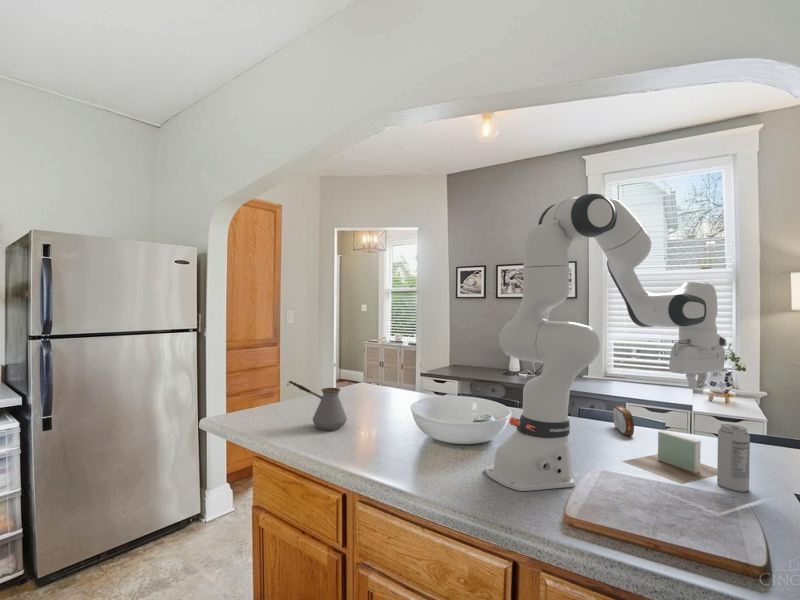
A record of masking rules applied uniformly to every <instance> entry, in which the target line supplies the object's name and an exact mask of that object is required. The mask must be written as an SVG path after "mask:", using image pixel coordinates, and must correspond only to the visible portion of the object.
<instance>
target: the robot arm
mask: <svg viewBox="0 0 800 600" xmlns="http://www.w3.org/2000/svg"><path fill="white" fill-rule="evenodd" d="M589 238H594V240H595V241H596V242H597V244H598V246H599V247H600V249H601V250H602V251H603V253H604V254H605V257H606V259H607V260H606V267H607V270H608V273H609V274H610V277H611V278H612V280H613V282H614V284H615V286H616V288H617V290H618V292H619V294H620V295H621V297H622V299H623V302H624V304H625V306H626V309H627V313H628V316H629V318H630V319H631V321H632V322H633V323H634V324H636V326H639V327H642V328H650V327H651V328H652V327H658V328H659V327H661V328H678V339H677V340H676V341H675V343H674V344H673V346H672V348H671V350H670V355H669V363H668V368H669V371H670V372H671V373H672V374H673V373H674V374H680V375H685V377H686V380H687V382H688V388H689V389H690V390H698V389H705V385H706V380H707V379H708V375H709V374H708V373H716V372H717V373H718V372H722V371H723V370H724V368H725V361H726V360H725V359H726V352H725V351H726V350H725V348H724V347H726V346H727V339H726V338H724V337H723V336H721V335H720V334H719V333H718V327H717V323H716V319H717V316H718V298H717V297H718V296H717V291H716V288H715V286H714V285H712V283H708V282H705V281H704V282H703V281H693V280H692V281H686V282H683V284H682V285H681V287H680V288H678V289H675V290H672V291H671V292H666V293H665V292H663V293H660V292H659V293H658V292H657V293H656V292H655V293H653V292H650V291H647V290H646V289H644V287H643V285H642V284H641V281H640V280H639V278H638V276H637V274H636V272H635V268H637V267H638V266H639V265H641V263H643V262H644V260H646V258H647V257H648V256H649V254H650V252H651V248H652V240H651V237H650V235H649V234H648V232H647V230H646V229H645V228H644V227H643V225H642V224H641V222H640V221H639V219H638V218H637V217H636V216H635V215H634V213H632V212H631V210H630V209H629V208H628V207H627V206H626V205H625V204H624V203H622V202H621V201H620V200H618V199H614V198H608V197H606V196H605V195H603V194H599V193H585V194H582V195H580V196H576V197H572V198H566V199H564V200H561V201H559V202H557V203H555V204H552V205H550V206H548V207H547V208H546V209H544V211H543V212H542V213H541V215H540V217H539V219H538V222H537V225H535V226H534V227H533V226H532V228H531V229H529V231H528V232H527V235H526V238H525V243H524V244H525V245H524V249H523V250H524V251H523V285H522V297H521V302H520V305H519V308H518V310H516V311H517V312H516V314H514V316H513V318H512V319H511V320H510V321H508V322H507V323H506V324H504V326H503V327H502V329H501V331H500V335H499V344H500V347H501V350H502V351H503V353H504V354H505V355H506V356H508V357H511V358H513V359H517V360H520V361H526V362H534V363H539V364H540V363H542V364H543V368H542V371H541V374H540V375H537V376H535V377H532V378H531V379H529V380H528V381H526V383H525V384H524V385H523V389H522V391H523V392H522V394H523V395H522V413H521V415H520V417H519V418H516V417H514V416H512V417H510V418H509V425H511V426H513V427H515V428H516V430H515V431H514V432H513V433H512V434H511V435H509V437H508V438H507V439H505V440H504V442H503V443H501V444H500V445H499V446H498V447H497V448H496V452H495V454H494V463H491V464H489V465H486V466H485V467H484V473H485V474H486V476H488V477H489V478H490V479H492V480H494V481H495V482H497V483H498V484H500V485H502V486H505V487H506V488H509V489H512V490H516V491H519V492H528V491H540V490H551V489H560V488H572V487H575V485H576V483H575V479H574V477H575V476H574V473H573V468H572V467H573V466H572V456H571V448H570V444H569V443H570V442H569V435H570V434H571V433H570V430H571V426H570V425H571V423H570V419H569V402H570V393H571V388H572V386H573V383H574V382H575V381H574V380H575V379H576V377H577V376H578V375H579V373H580V372H581V371H582V370H583V369H586V368H587V367H589V366H590V365H592V364H593V363H594V362H595V360H596V359H597V358H598V356H599V353H600V349H601V342H600V338H599V336H598V333H597V332H596V330H595V329H594V328H593V327H591V326H590V325H585V324H582V323H578V322H573V321H558V320H557V321H556V320H549V319H550V317H549V316H550V314H551V311H552V309H553V308H555V307H557V306H559V305H561V304H563V303H564V302H565V301H566V300H567V298H568V297H569V293H570V265H569V260H570V258H569V248H570V246H571V243H572V242H578V241H582V240H586V239H589Z"/></svg>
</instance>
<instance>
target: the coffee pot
mask: <svg viewBox="0 0 800 600" xmlns="http://www.w3.org/2000/svg"><path fill="white" fill-rule="evenodd" d="M290 385H293V386H294V387H297V388H298V389H299V390H302V391H304V392H306V393H308V394H311V395H313V396H315V397H317V398H318V399H320V402H319V404H318V406H317V408H316V410H315V412H314V415H313V417H312V423H313V424H314V425H315V426H316V427H317V428H318V429H319V430H322V431H328V432H329V431H338V430H340V429H341V428H342V427H343V426H344V425H346V422H347V420H348V417H347V415H346V412H345V409H344V407H343V404H342V402H341V399H340V398H339V393H340V391H341V388H338V387H324V388H323V387H322V388H321V389H320V391H321V392H322V395H320V394H318V393H316V392H314V391H312V390H310V389H308V388H307V387H305V386H303V385H301V384H298V383H297V382H294V381H292V380H289V381H288V382H287V384H286V386H287V387H289V386H290Z"/></svg>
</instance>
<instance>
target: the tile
mask: <svg viewBox="0 0 800 600" xmlns="http://www.w3.org/2000/svg"><path fill="white" fill-rule="evenodd" d="M701 443H702V442H701V440H698V439H694V438H691V437H687V436H683V435H680V434H675V433H673V432H668V431H665V430H658V431H657V454H658V460H660V461H663V462H666V463H669V464H672V465H674V466H677V467H680V468H683V469H686V470H689V471H692V472H695V473H697V472H700V463H701Z"/></svg>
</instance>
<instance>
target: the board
mask: <svg viewBox="0 0 800 600" xmlns="http://www.w3.org/2000/svg"><path fill="white" fill-rule="evenodd" d="M621 462H623V463H625V464H628V465H631V466H633V467H636V468H638V469H641V470H644V471H646V472H649V473H652V474H654V475H657V476H660V477H662V478H665V479H668V480H669V481H673V482H676V483H679V484H681V485H684V484H687V483H690V482H696V481H700V480H702V479H708V478H711V477H714V476H717V468H716V467H713V466H710V465H707V464H704V463H701V462H700V472H697V473H695V472H692V471H689V470H686V469H683V468H680V467H677V466H674V465H672V464H669V463H666V462H663V461H660V460H658V453H657V454H651V455H647V456H642V457H641V456H640V457H636V458H630V459H626V460H621Z"/></svg>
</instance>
